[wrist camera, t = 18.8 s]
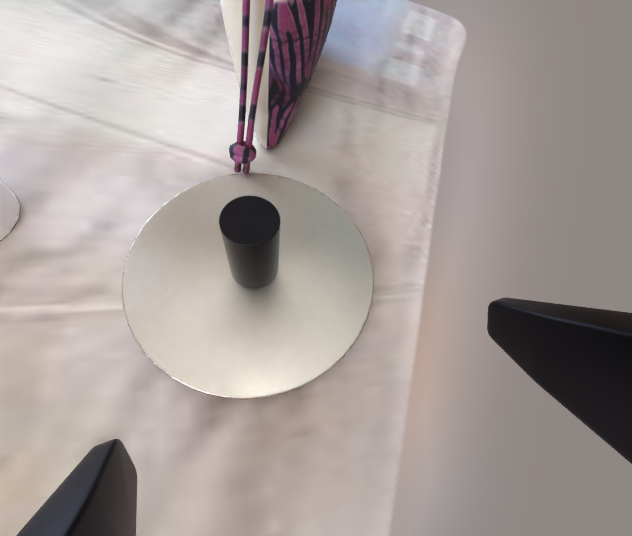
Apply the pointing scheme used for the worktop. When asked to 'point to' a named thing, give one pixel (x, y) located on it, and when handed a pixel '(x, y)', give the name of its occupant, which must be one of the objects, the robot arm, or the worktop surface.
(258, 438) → the worktop surface
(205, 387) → the tin lid
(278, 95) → the pouch
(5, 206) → the white cup
